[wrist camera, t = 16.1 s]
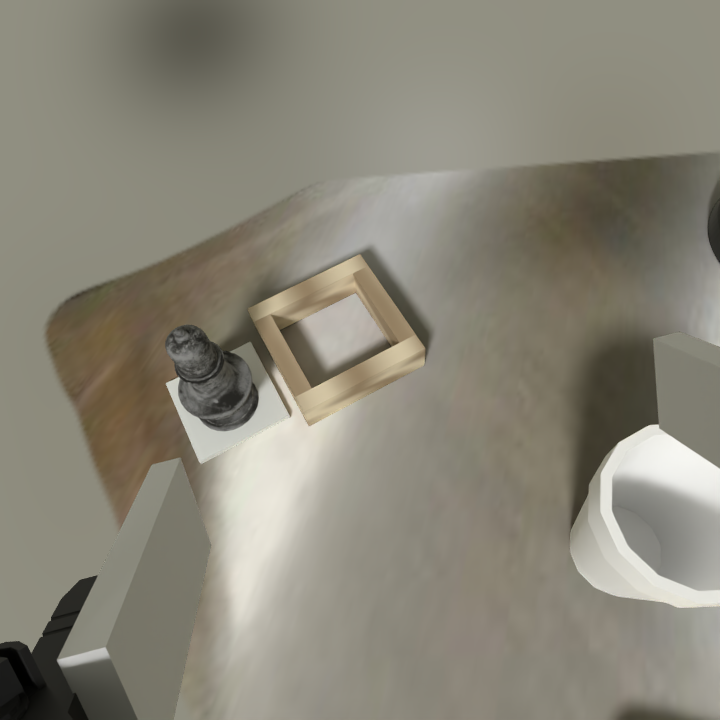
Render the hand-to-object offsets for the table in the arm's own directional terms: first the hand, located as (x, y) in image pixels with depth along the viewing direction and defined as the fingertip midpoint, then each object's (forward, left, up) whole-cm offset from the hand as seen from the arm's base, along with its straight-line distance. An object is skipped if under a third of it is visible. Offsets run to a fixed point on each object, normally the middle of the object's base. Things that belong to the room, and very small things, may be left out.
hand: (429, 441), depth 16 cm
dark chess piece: (+7, -19, -29) cm, 36 cm away
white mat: (+7, -20, -30) cm, 36 cm away
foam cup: (-13, +5, -30) cm, 33 cm away
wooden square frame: (-4, -20, -30) cm, 36 cm away
